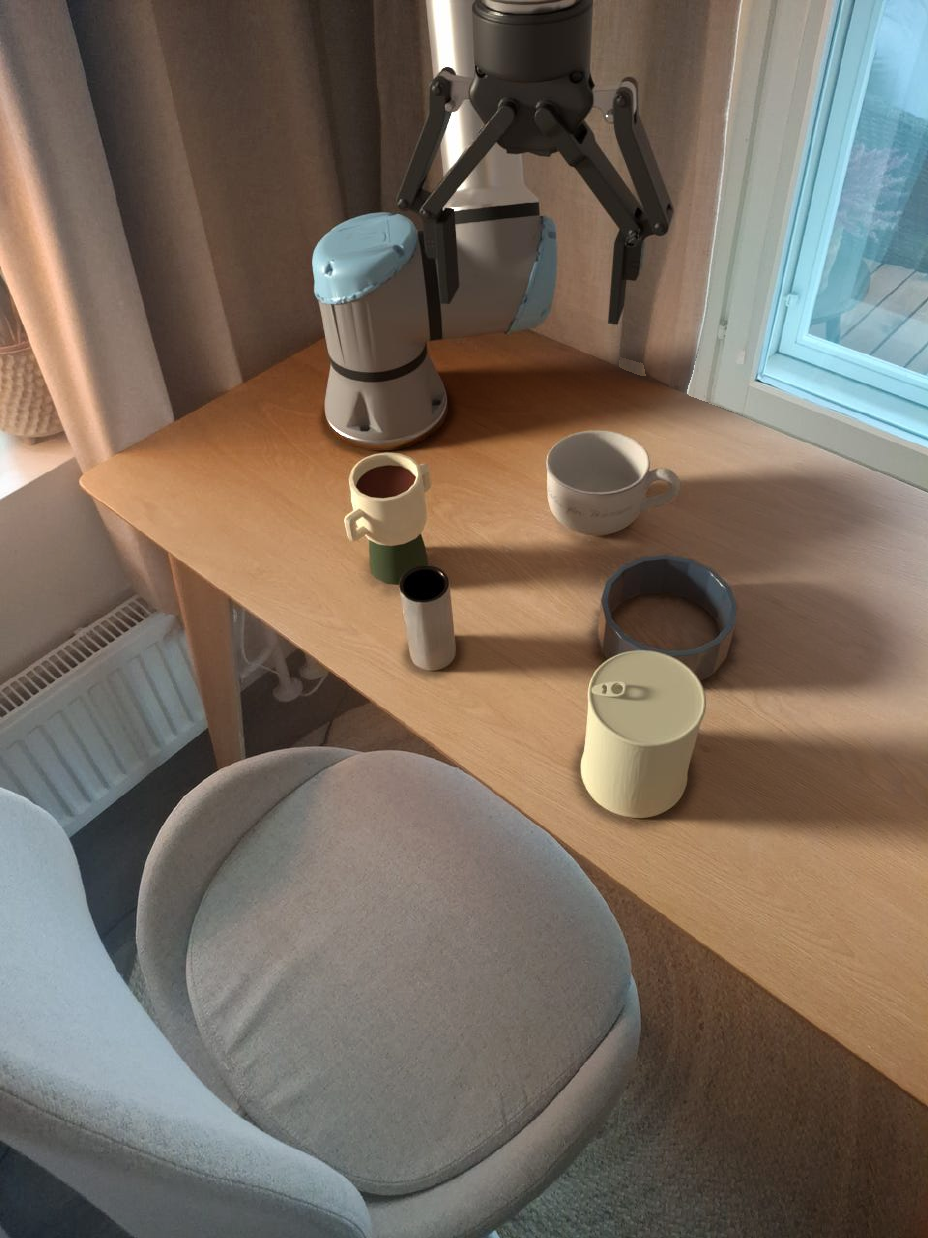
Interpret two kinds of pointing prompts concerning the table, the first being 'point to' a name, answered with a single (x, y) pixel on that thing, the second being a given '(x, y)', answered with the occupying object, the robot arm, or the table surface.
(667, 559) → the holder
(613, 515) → the teacup
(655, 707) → the can
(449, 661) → the planter
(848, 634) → the table surface
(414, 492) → the character mug
